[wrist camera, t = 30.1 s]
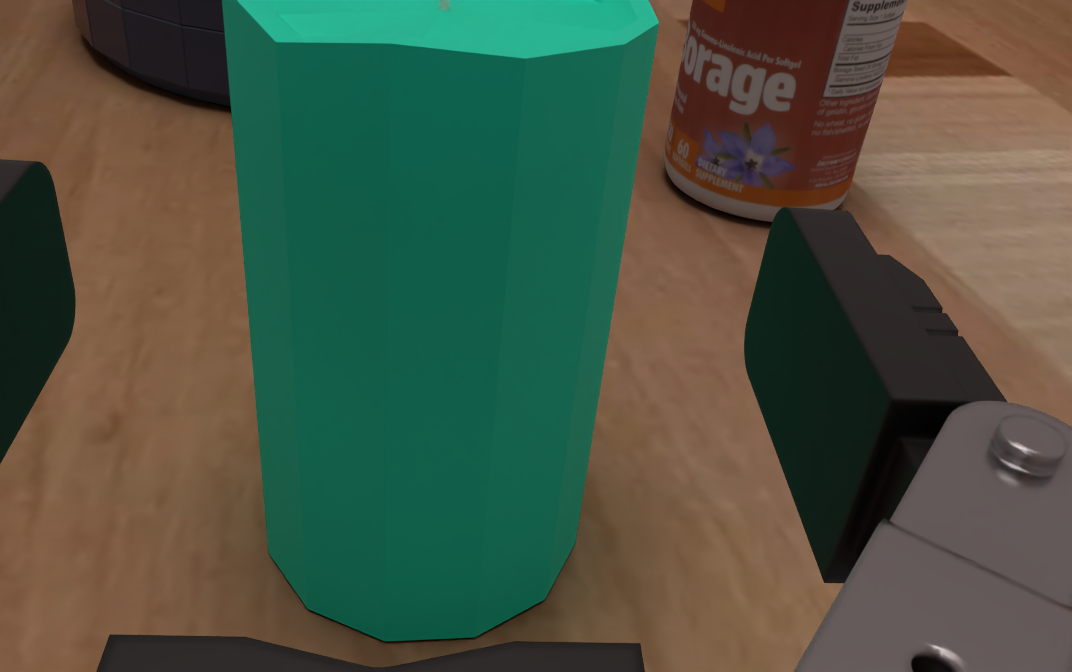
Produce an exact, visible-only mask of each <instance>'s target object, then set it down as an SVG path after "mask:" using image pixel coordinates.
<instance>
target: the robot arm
mask: <svg viewBox="0 0 1072 672" xmlns="http://www.w3.org/2000/svg"><path fill="white" fill-rule="evenodd" d="M942 309H943V308H942V306H941V305H940V303H939V302H938V300H937V299H936V298H935V296H934V295H933V293H932V292H931V290H930V289H929V287H928V286H927V284H926V283H925V282H924V280H923V279H921V278H920V277H919V276H917V275H916V274H914V273H913V272H912V271H910V270H909V269H908V268H906V267H905V266H904V265H902V264H901V263H899V262H898V261H897V260H895V259H894V258H893V257H891V256H890V255H877V253H876V252H875V250H874V249H873V247H872V246H871V244H870V242H869V241H868V239H867V238H866V236H865V235H864V233H863V232H862V230H861V228H860V227H859V225H858V224H857V222H856V221H855V219H854V218H853V216H852V215H851V214H850V213H849V212H848V211H843V210H826V209H809V208H792V207H783V208H781V209H780V210H779V211H778V212H777V213H776V215H775V217H774V219H773V222H772V224H771V228H770V231H769V235H768V239H767V243H766V247H765V251H764V255H763V259H762V263H761V267H760V271H759V275H758V279H757V283H756V287H755V291H754V295H753V299H752V303H751V307H750V310H749V314H748V318H747V323H746V329H745V340H744V355H745V365H746V370H747V374H748V377H749V379H750V382H751V385H752V388H753V390H754V393H755V396H756V398H757V401H758V404H759V407H760V409H761V412H762V415H763V417H764V420H765V423H766V426H767V428H768V431H769V434H770V437H771V439H772V442H773V445H774V447H775V450H776V453H777V456H778V458H779V461H780V464H781V466H782V469H783V472H784V475H785V477H786V480H787V483H788V486H789V488H790V491H791V494H792V496H793V499H794V502H795V505H796V507H797V510H798V513H799V515H800V518H801V521H802V524H803V526H804V529H805V532H806V535H807V537H808V540H809V543H810V545H811V548H812V551H813V554H814V556H815V559H816V562H817V564H818V567H819V570H820V573H821V575H822V578H823V581H824V583H844V585H843V587H842V588H841V590H840V592H839V594H838V595H837V597H836V599H835V601H834V602H833V604H832V606H831V608H830V609H829V611H828V613H827V614H826V616H825V618H824V620H823V621H822V623H821V625H820V627H819V628H818V630H817V632H816V634H815V635H814V637H813V639H812V641H811V642H810V644H809V646H808V648H807V649H806V651H805V653H804V655H803V656H802V658H801V660H800V662H799V663H798V665H797V667H796V668H795V670H794V672H1072V427H1071V426H1069V425H1068V424H1066V423H1064V422H1062V421H1060V420H1059V419H1057V418H1055V417H1052V416H1050V415H1048V414H1046V413H1044V412H1041V411H1038V410H1035V409H1033V408H1030V407H1026V406H1022V405H1018V404H1014V403H1008V402H1007V401H1006V399H1005V398H1004V396H1003V395H1002V393H1001V392H1000V391H999V389H998V388H997V386H996V385H995V383H994V382H993V380H992V379H991V377H990V376H989V375H988V373H987V372H986V370H985V369H984V367H983V366H982V364H981V363H980V361H979V360H978V359H977V357H976V356H975V354H974V353H973V351H972V350H971V348H970V347H969V345H968V344H967V343H966V341H965V340H964V338H963V337H960V336H958V329H957V328H956V327H955V325H954V324H953V322H952V321H951V319H950V318H949V316H948V315H947V314H946V313H942ZM74 319H75V289H74V283H73V278H72V273H71V268H70V263H69V257H68V252H67V247H66V242H65V237H64V232H63V227H62V222H61V217H60V212H59V207H58V202H57V197H56V192H55V187H54V183H53V180H52V177H51V174H50V172H49V170H48V169H47V167H46V166H45V165H44V164H43V163H41V162H35V161H18V160H1V159H0V463H1V462H2V460H3V458H4V456H5V455H6V453H7V451H8V449H9V447H10V446H11V444H12V442H13V440H14V439H15V437H16V435H17V433H18V431H19V430H20V428H21V426H22V424H23V422H24V421H25V419H26V417H27V415H28V414H29V412H30V410H31V408H32V406H33V405H34V403H35V401H36V399H37V397H38V396H39V394H40V392H41V390H42V389H43V387H44V385H45V383H46V381H47V380H48V378H49V376H50V374H51V373H52V371H53V369H54V367H55V365H56V364H57V362H58V360H59V358H60V356H61V355H62V353H63V351H64V349H65V348H66V346H67V344H68V342H69V339H70V337H71V334H72V330H73V325H74ZM97 672H645V670H644V664H643V658H642V652H641V645H640V643H583V642H522V641H514V642H509V643H504V644H499V645H495V646H490V647H485V648H480V649H475V650H470V651H465V652H460V653H456V654H451V655H446V656H441V657H436V658H431V659H426V660H422V661H417V662H412V663H407V664H402V665H397V666H392V667H384V668H381V667H368V666H363V665H359V664H355V663H351V662H347V661H342V660H338V659H334V658H330V657H326V656H322V655H318V654H313V653H309V652H305V651H301V650H297V649H293V648H289V647H285V646H280V645H276V644H272V643H268V642H264V641H260V640H256V639H252V638H247V637H222V636H162V635H109V638H108V641H107V644H106V646H105V649H104V652H103V655H102V658H101V660H100V663H99V666H98V669H97Z"/></svg>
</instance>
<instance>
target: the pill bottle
mask: <svg viewBox="0 0 1072 672" xmlns="http://www.w3.org/2000/svg"><path fill="white" fill-rule="evenodd" d="M906 3H907V0H693V2H692V7H691V12H690V19H689V24H688V29H687V34H686V40H685V44H684V50H683V55H682V61H681V66H680V71H679V77H678V82H677V87H676V92H675V97H674V103H673V108H672V112H671V117H670V122H669V128H668V135H667V139H666V147H665V152H664V163H665V168H666V171H667V173H668V175H669V177H670V179H671V180H672V182H673V183H674V184H675V185H676V186H677V187H678V188H679V189H680V190H682V191H683V192H684V193H686V194H687V195H689V196H690V197H692V198H694V199H695V200H697V201H699V202H701V203H703V204H705V205H707V206H709V207H712V208H714V209H717V210H720V211H723V212H726V213H729V214H733V215H736V216H740V217H744V218H749V219H754V220H761V221H768V222H773V219H774V217H775V215H776V213H777V212H778V211H779V210H780V209H781V208H783V207H792V208H809V209H826V210H834V209H836V208H837V207H838V206H839V205H840V204H841V203H842V202H843V200H844V199H845V197H846V195H847V193H848V190H849V187H850V184H851V181H852V178H853V175H854V172H855V168H856V165H857V162H858V158H859V155H860V152H861V149H862V145H863V142H864V139H865V136H866V132H867V129H868V126H869V123H870V120H871V116H872V113H873V110H874V107H875V104H876V100H877V97H878V94H879V91H880V87H881V84H882V81H883V77H884V74H885V71H886V68H887V64H888V61H889V58H890V54H891V51H892V48H893V45H894V42H895V38H896V35H897V32H898V28H899V25H900V22H901V19H902V16H903V12H904V9H905V6H906Z"/></svg>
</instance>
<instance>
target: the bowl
mask: <svg viewBox="0 0 1072 672" xmlns="http://www.w3.org/2000/svg"><path fill="white" fill-rule="evenodd" d="M72 3H73V9H74V15H75V21H76V26H77V27H78V29H79V30H80V31H81V32H82V34H83V35H84V36H85V38H86V39H87V40H88V42H89V43H90V44H91V46H92V47H93V48H95V50H97V51H99V52H101V53H102V54H103V55H104V56H105V57H106V58H107V59H108V60H109V61H110V62H111V63H112V64H114V65H115V66H117V67H118V68H120V69H121V70H123V71H124V72H126V73H127V74H129V75H131V76H133V77H135V78H137V79H139V80H141V81H143V82H145V83H148V84H150V85H153V86H156V87H159V88H161V89H164V90H167V91H169V92H172V93H176V94H179V95H183V96H186V97H190V98H193V99H197V100H201V101H206V102H210V103H215V104H220V105H225V106H229V107H231V101H230V90H229V78H228V66H227V54H226V42H225V30H224V19H223V7H222V0H72Z"/></svg>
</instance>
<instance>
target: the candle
mask: <svg viewBox="0 0 1072 672" xmlns="http://www.w3.org/2000/svg"><path fill="white" fill-rule="evenodd" d="M222 7H223V19H224V30H225V42H226V54H227V66H228V78H229V90H230V101H231V113H232V125H233V137H234V149H235V161H236V172H237V184H238V196H239V208H240V220H241V232H242V243H243V255H244V267H245V279H246V291H247V302H248V314H249V326H250V338H251V350H252V362H253V373H254V385H255V397H256V409H257V421H258V433H259V444H260V456H261V468H262V480H263V492H264V504H265V515H266V527H267V539H268V551H269V554H270V556H271V557H272V559H273V560H274V561H275V563H276V564H277V566H278V567H279V569H280V570H281V571H282V573H283V574H284V576H285V577H286V579H287V580H288V582H289V583H290V584H291V586H292V587H293V589H294V590H295V592H296V593H297V594H298V596H299V597H300V599H301V600H302V602H303V603H304V605H305V606H306V607H307V609H309V610H311V611H314V612H316V613H319V614H321V615H323V616H326V617H328V618H330V619H333V620H335V621H338V622H340V623H342V624H345V625H347V626H349V627H352V628H354V629H357V630H359V631H361V632H364V633H366V634H368V635H371V636H373V637H376V638H378V639H380V640H383V641H406V640H428V639H450V638H472V637H477V636H478V635H480V634H482V633H484V632H486V631H488V630H490V629H491V628H493V627H495V626H497V625H499V624H501V623H502V622H504V621H506V620H508V619H510V618H512V617H513V616H515V615H517V614H519V613H521V612H523V611H525V610H526V609H528V608H530V607H532V606H534V605H536V604H537V603H539V602H541V601H543V600H545V599H546V597H547V595H548V593H549V591H550V589H551V587H552V586H553V584H554V582H555V580H556V578H557V576H558V574H559V573H560V571H561V569H562V567H563V565H564V563H565V561H566V560H567V558H568V556H569V554H570V552H571V550H572V548H573V547H574V545H575V541H576V535H577V529H578V523H579V517H580V510H581V504H582V498H583V492H584V486H585V479H586V473H587V467H588V461H589V455H590V448H591V442H592V436H593V430H594V424H595V417H596V411H597V405H598V399H599V393H600V386H601V380H602V374H603V368H604V362H605V355H606V349H607V343H608V337H609V331H610V325H611V318H612V312H613V306H614V300H615V294H616V287H617V281H618V275H619V269H620V263H621V256H622V250H623V244H624V238H625V232H626V225H627V219H628V213H629V207H630V201H631V194H632V188H633V182H634V176H635V170H636V163H637V157H638V151H639V145H640V139H641V132H642V126H643V120H644V114H645V108H646V101H647V95H648V89H649V83H650V77H651V71H652V64H653V58H654V52H655V46H656V40H657V33H658V27H659V21H658V19H657V17H656V15H655V13H654V11H653V9H652V7H651V5H650V3H649V1H648V0H222Z"/></svg>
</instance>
